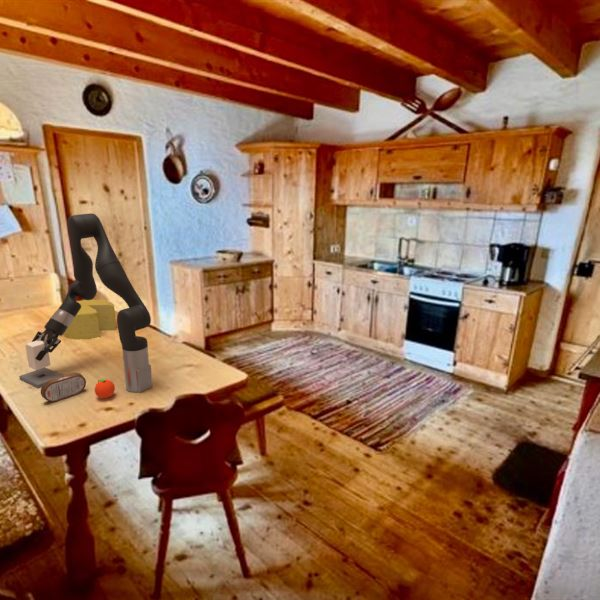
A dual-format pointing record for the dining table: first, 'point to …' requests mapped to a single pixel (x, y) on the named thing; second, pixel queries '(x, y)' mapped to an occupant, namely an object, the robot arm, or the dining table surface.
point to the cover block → (33, 351)
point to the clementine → (104, 388)
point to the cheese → (92, 320)
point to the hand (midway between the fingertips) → (33, 357)
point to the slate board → (39, 377)
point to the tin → (63, 387)
